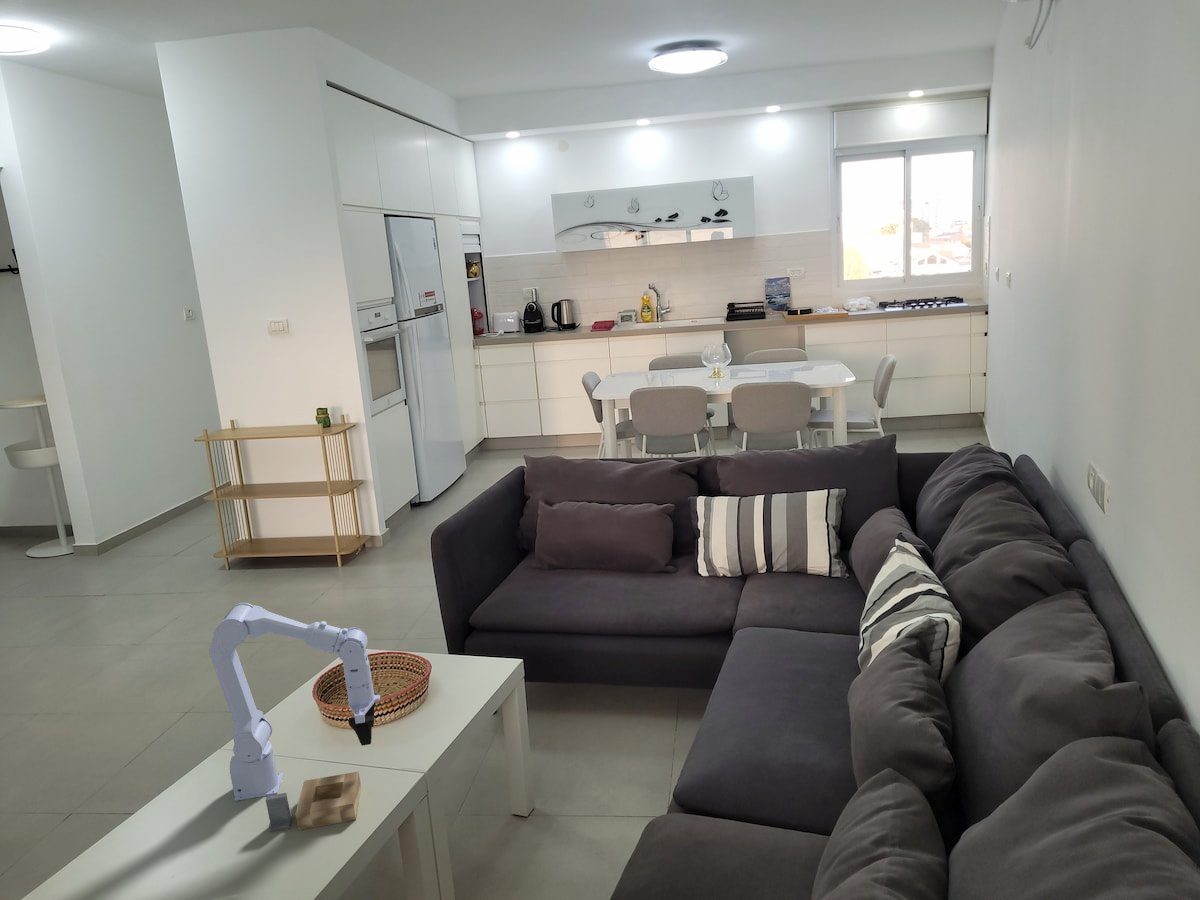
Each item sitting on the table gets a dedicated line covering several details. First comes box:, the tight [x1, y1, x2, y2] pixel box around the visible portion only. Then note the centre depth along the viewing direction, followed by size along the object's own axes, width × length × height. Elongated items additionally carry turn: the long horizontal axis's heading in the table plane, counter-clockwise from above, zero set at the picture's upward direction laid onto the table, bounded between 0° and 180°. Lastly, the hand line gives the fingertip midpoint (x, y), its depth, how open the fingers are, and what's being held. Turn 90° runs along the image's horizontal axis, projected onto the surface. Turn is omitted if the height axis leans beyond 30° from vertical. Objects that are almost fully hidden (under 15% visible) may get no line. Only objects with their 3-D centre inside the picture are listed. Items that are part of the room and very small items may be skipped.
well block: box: [294, 771, 362, 831], centre depth 195 cm, size 12×12×4 cm
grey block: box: [265, 792, 294, 833], centre depth 191 cm, size 4×4×7 cm
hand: (367, 735), depth 205 cm, fingers open, 7 cm apart
